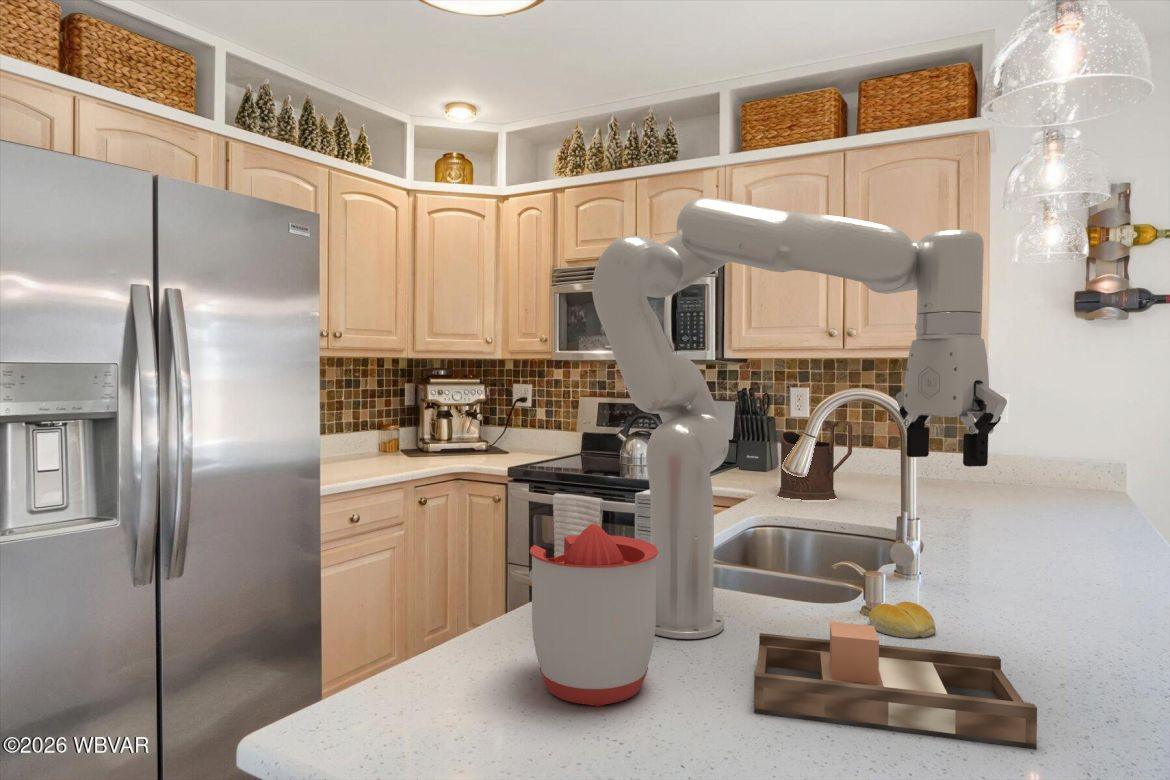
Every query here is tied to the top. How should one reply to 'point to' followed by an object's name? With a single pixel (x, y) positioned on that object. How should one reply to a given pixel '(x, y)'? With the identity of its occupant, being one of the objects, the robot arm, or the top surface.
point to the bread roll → (902, 620)
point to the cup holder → (812, 468)
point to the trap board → (895, 692)
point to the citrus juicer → (594, 616)
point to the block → (854, 653)
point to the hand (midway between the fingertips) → (944, 461)
